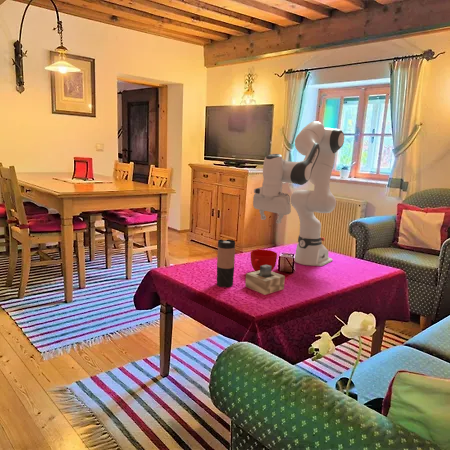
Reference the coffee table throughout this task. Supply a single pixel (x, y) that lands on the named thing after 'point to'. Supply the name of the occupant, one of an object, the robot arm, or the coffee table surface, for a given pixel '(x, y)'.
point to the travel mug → (225, 262)
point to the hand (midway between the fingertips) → (270, 221)
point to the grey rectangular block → (265, 271)
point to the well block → (265, 282)
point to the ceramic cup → (263, 258)
